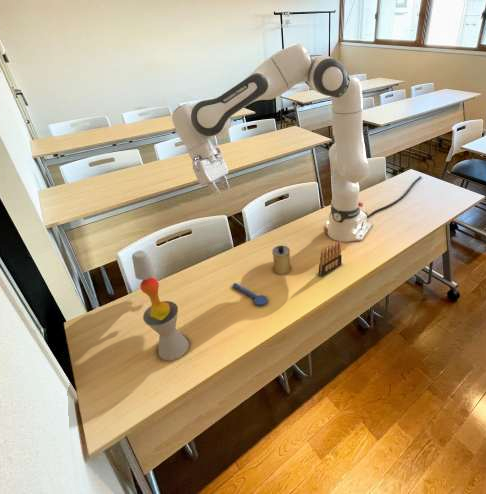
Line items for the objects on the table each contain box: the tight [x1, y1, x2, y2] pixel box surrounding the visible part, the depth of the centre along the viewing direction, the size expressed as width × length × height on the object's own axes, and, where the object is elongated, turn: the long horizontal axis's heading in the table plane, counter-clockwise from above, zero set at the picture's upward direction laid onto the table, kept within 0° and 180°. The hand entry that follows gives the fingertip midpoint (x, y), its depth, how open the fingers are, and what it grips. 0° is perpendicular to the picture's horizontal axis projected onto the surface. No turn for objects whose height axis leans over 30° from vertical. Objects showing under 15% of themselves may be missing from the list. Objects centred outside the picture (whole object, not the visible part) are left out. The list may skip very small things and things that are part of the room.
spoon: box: [232, 282, 268, 307], centre depth 118 cm, size 16×4×1 cm, turn 52°
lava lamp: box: [131, 250, 190, 361], centre depth 90 cm, size 9×9×35 cm
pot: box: [271, 244, 291, 275], centre depth 127 cm, size 7×7×10 cm
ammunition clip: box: [318, 239, 343, 277], centre depth 126 cm, size 11×2×12 cm, turn 131°
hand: (222, 191), depth 118 cm, fingers open, 8 cm apart
